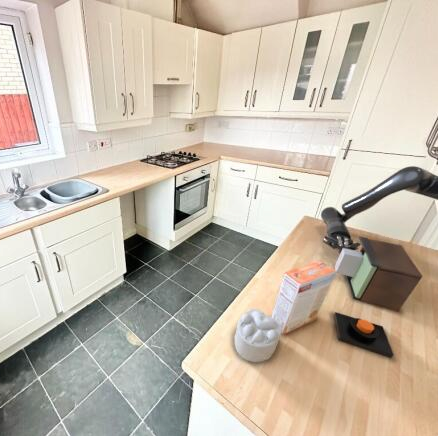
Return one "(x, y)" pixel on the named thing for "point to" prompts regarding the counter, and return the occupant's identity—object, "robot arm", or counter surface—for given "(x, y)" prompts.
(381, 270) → the cupboard
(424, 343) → the counter surface
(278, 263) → the counter surface
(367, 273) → the door
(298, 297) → the cracker box
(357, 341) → the button box
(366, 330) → the button
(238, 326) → the lumpy-topped squat cylinder
